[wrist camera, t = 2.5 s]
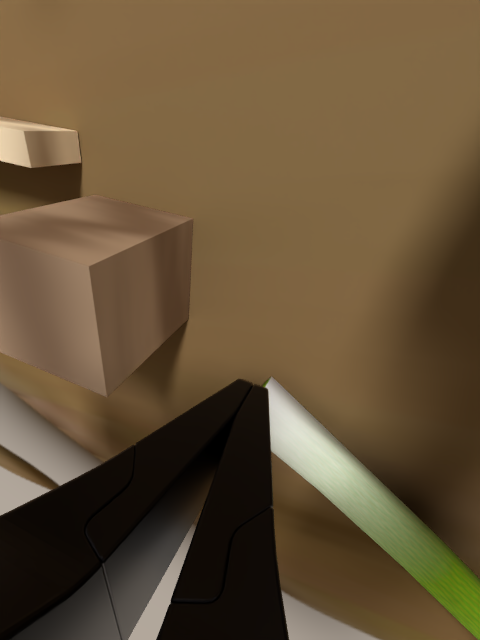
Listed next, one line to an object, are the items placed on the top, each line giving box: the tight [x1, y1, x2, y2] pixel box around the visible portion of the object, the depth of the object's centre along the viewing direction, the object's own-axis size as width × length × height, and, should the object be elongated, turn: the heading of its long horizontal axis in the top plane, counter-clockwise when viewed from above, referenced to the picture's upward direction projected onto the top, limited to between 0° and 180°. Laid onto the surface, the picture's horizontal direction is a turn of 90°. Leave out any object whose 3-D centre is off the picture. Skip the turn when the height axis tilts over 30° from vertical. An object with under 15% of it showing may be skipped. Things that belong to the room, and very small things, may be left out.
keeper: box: [0, 195, 193, 397], centre depth 13 cm, size 5×5×6 cm
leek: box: [262, 377, 480, 640], centre depth 16 cm, size 6×7×30 cm
